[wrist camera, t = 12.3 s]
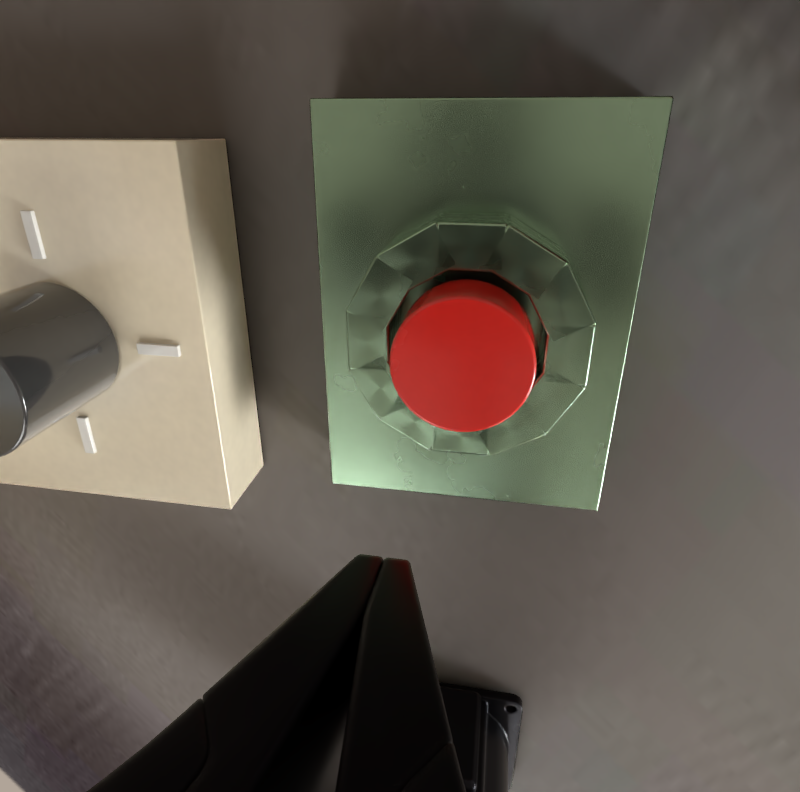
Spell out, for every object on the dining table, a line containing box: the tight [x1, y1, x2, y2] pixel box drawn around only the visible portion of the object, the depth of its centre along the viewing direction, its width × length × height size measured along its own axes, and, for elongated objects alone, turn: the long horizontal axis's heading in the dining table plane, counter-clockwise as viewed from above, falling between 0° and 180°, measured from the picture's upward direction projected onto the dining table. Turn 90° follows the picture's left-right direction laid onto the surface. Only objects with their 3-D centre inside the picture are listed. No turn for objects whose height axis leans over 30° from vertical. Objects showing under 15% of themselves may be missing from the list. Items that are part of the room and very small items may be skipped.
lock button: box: [389, 279, 537, 432], centre depth 15 cm, size 4×4×2 cm
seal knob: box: [0, 282, 119, 457], centre depth 16 cm, size 4×4×4 cm
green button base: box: [310, 96, 673, 511], centre depth 17 cm, size 12×9×4 cm
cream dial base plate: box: [0, 137, 263, 509], centre depth 20 cm, size 12×10×3 cm
